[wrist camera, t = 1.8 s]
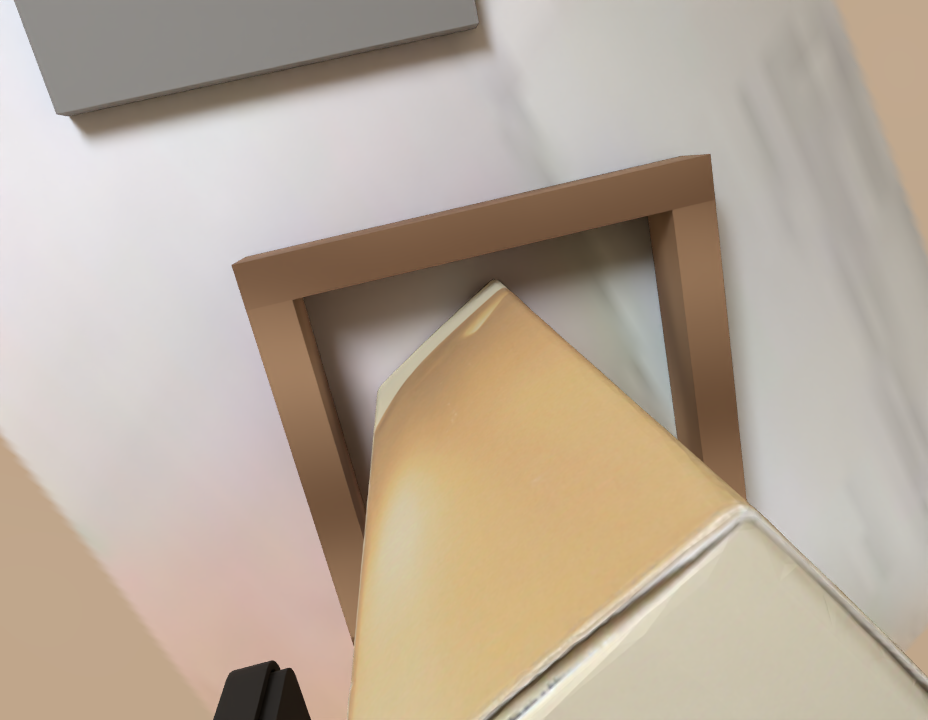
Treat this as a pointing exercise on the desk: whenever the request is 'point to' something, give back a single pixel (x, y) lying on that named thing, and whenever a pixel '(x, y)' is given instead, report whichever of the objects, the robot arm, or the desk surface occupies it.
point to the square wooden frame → (473, 234)
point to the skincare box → (582, 558)
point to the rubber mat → (210, 41)
